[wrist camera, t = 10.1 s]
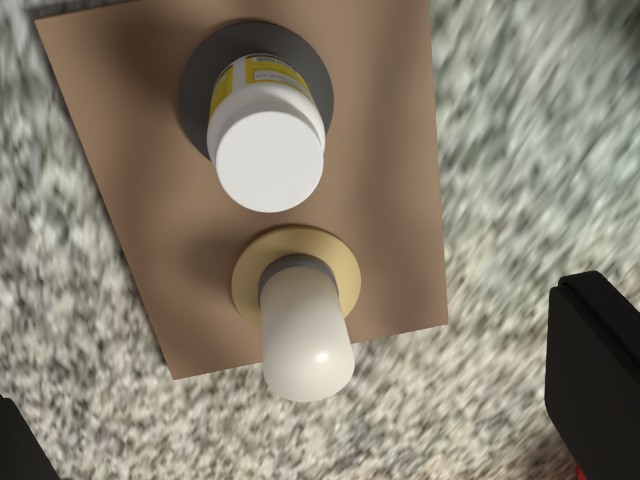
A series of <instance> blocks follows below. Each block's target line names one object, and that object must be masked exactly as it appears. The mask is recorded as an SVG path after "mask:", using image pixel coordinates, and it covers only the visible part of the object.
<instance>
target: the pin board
mask: <svg viewBox="0 0 640 480" xmlns="http://www.w3.org/2000/svg"><path fill="white" fill-rule="evenodd" d="M34 22H35V24H36V27H37V30H38V32H39V35H40V37H41V40H42V43H43V45H44V48H45V50H46V53H47V55H48V58H49V61H50V63H51V66H52V68H53V71H54V74H55V76H56V79H57V81H58V84H59V86H60V89H61V92H62V94H63V97H64V99H65V102H66V104H67V107H68V110H69V112H70V115H71V117H72V120H73V123H74V125H75V128H76V130H77V133H78V135H79V138H80V141H81V143H82V146H83V148H84V151H85V154H86V156H87V159H88V161H89V164H90V166H91V169H92V172H93V174H94V177H95V179H96V182H97V185H98V187H99V190H100V192H101V195H102V197H103V200H104V203H105V205H106V208H107V210H108V213H109V216H110V218H111V221H112V223H113V226H114V228H115V231H116V234H117V236H118V239H119V241H120V244H121V246H122V249H123V252H124V254H125V257H126V259H127V262H128V265H129V267H130V270H131V272H132V275H133V277H134V280H135V283H136V285H137V288H138V290H139V293H140V296H141V298H142V301H143V303H144V306H145V308H146V311H147V314H148V316H149V319H150V321H151V324H152V327H153V329H154V332H155V334H156V337H157V339H158V342H159V345H160V347H161V350H162V352H163V355H164V358H165V360H166V363H167V365H168V368H169V370H170V373H171V376H172V378H173V380H177V379H182V378H186V377H191V376H196V375H201V374H206V373H211V372H216V371H221V370H226V369H230V368H235V367H240V366H245V365H250V364H255V363H260V362H263V352H262V331H261V311H260V308H259V304H258V282H259V278H260V276H261V274H262V272H263V271H264V269H265V268H266V267H267V266H268V265H269V264H270V263H272V262H273V261H274V260H276V259H278V258H280V257H283V256H285V255H289V254H296V253H302V254H309V255H313V256H316V257H318V258H320V259H321V260H323V261H324V262H326V263H327V264H328V265H329V267H330V268H331V269H332V271H333V273H334V275H335V279H336V283H337V287H338V290H339V301H340V305H341V309H342V313H343V317H344V321H345V325H346V329H347V332H348V336H349V340H350V344H353V343H358V342H362V341H367V340H372V339H377V338H382V337H387V336H392V335H397V334H402V333H406V332H411V331H416V330H421V329H426V328H431V327H436V326H441V325H446V324H448V310H447V293H446V277H445V261H444V244H443V228H442V212H441V196H440V179H439V163H438V147H437V130H436V114H435V98H434V81H433V65H432V49H431V32H430V16H429V0H129V1H124V2H118V3H113V4H108V5H102V6H97V7H92V8H86V9H81V10H76V11H70V12H65V13H60V14H54V15H49V16H44V17H41V18H39V19H37V20H34ZM251 54H270V55H274V56H277V57H280V58H282V59H284V60H286V61H287V62H289V63H290V64H291V65H293V66H294V67H295V68H296V69H297V70H298V71H299V73H300V74H301V75H302V77H303V78H304V80H305V82H306V84H307V86H308V89H309V91H310V93H311V95H312V98H313V100H314V102H315V105H316V107H317V109H318V111H319V113H320V116H321V118H322V121H323V125H324V130H325V148H324V153H323V159H324V161H323V171H322V175H321V178H320V180H319V183H318V184H317V186H316V188H315V189H314V191H313V192H312V193H311V194H310V196H308V197H307V198H306V199H305V200H304V201H302V202H301V203H300V204H298V205H296V206H294V207H292V208H290V209H287V210H284V211H279V212H259V211H254V210H251V209H248V208H246V207H244V206H242V205H240V204H239V203H237V202H236V201H234V200H233V199H232V198H231V197H230V196H229V195H228V194H227V193H226V191H225V190H224V189H223V187H222V185H221V184H220V181H219V179H218V176H217V172H216V169H215V168H214V166H213V164H212V161H211V159H210V156H209V152H208V148H207V129H208V123H209V115H210V108H211V100H212V94H213V89H214V86H215V83H216V81H217V79H218V77H219V76H220V74H221V73H222V72H223V71H224V70H225V69H226V68H227V67H228V66H229V65H230V64H231V63H233V62H234V61H236V60H237V59H239V58H241V57H244V56H247V55H251Z"/></svg>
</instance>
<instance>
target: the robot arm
mask: <svg viewBox="0 0 640 480" xmlns="http://www.w3.org/2000/svg"><path fill="white" fill-rule="evenodd" d="M544 399H545V406H546V409H547V412H548V415H549V417H550V419H551V421H552V423H553V424H554V426H555V427H556V429H557V431H558V432H559V434H560V436H561V437H562V439H563V441H564V442H565V444H566V446H567V447H568V449H569V451H570V452H571V454H572V456H573V457H574V459H575V461H576V462H577V464H578V466H579V467H580V469H581V470H582V472H583V474H584V475H585V477H586V479H587V480H640V312H639V311H638V310H637V309H636V308H635V307H634V306H633V305H632V304H631V303H630V302H629V301H628V300H627V299H626V298H625V297H624V296H623V295H622V294H621V293H620V292H619V291H618V290H617V289H616V288H615V287H614V286H613V285H612V284H611V283H610V282H609V281H608V280H607V279H606V278H605V277H604V276H603V275H602V274H601V273H599V272H598V271H594V270H593V271H588V272H583V273H578V274H573V275H568V276H563V277H561V278H560V280H559V282H558V286H556V287H553V288H551V290H550V294H549V311H548V332H547V353H546V374H545V395H544ZM0 480H60V478H59V476H58V475H57V473H56V471H55V470H54V468H53V466H52V465H51V463H50V461H49V460H48V458H47V456H46V455H45V453H44V451H43V450H42V448H41V446H40V445H39V443H38V441H37V440H36V438H35V436H34V435H33V433H32V431H31V430H30V428H29V426H28V425H27V423H26V421H25V420H24V418H23V416H22V415H21V413H20V411H19V410H18V408H17V406H16V405H15V403H14V402H13V401H12V400H11V399H10V398H3V397H2V395H1V394H0Z"/></svg>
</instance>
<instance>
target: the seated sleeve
mask: <svg viewBox="0 0 640 480" xmlns="http://www.w3.org/2000/svg"><path fill="white" fill-rule="evenodd" d="M258 304H259V308H260V311H261V331H262V352H263V372H264V378H265V380H266V382H267V384H268V386H269V387H270V388H271V389H272V390H273V391H274V392H275V393H276V394H278V395H279V396H281V397H283V398H286V399H288V400H292V401H297V402H312V401H318V400H322V399H325V398H327V397H330V396H332V395H334V394H335V393H337V392H338V391H340V390H341V389H342V388H343V387H344V386H345V385H346V384H347V383H348V381H349V380H350V378H351V376H352V374H353V371H354V365H355V362H354V356H353V352H352V348H351V344H350V340H349V336H348V332H347V329H346V325H345V321H344V317H343V313H342V309H341V305H340V301H339V290H338V287H337V283H336V279H335V275H334V273H333V271H332V269H331V268H330V267H329V265H328V264H327V263H326V262H324V261H323V260H321V259H320V258H318V257H316V256H313V255H309V254H302V253H296V254H289V255H285V256H283V257H280V258H278V259H276V260H274V261H273V262H272V263H270V264H269V265H268V266H267V267H266V268H265V269H264V271H263V272H262V274H261V276H260V278H259V282H258Z"/></svg>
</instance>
